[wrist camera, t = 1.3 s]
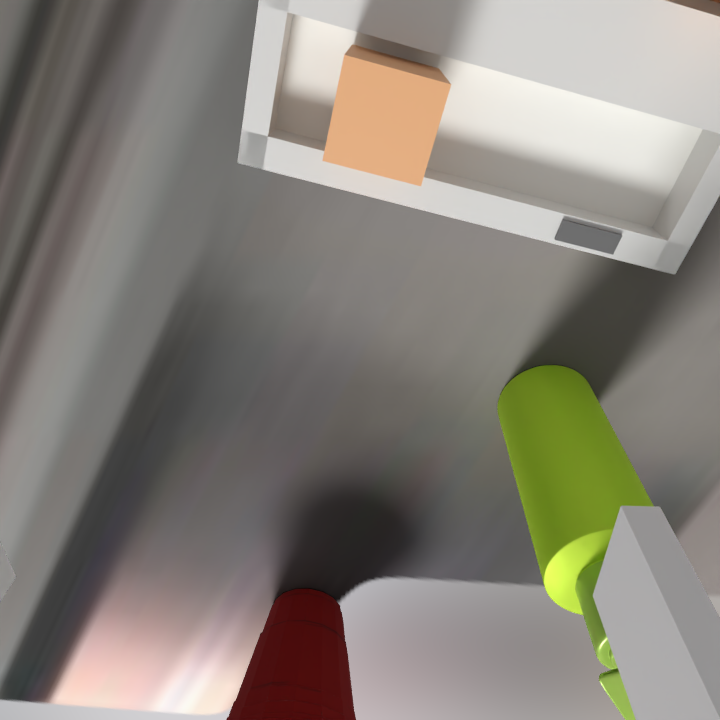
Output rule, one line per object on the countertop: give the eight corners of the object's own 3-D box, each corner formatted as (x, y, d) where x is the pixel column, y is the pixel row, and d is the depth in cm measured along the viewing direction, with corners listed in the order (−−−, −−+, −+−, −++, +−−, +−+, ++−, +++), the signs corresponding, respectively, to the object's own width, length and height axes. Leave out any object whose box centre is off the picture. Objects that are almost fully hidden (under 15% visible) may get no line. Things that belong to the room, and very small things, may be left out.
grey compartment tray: (250, 149, 30) (236, 163, 27) (317, -326, 21) (307, -374, 19) (651, 252, 32) (676, 276, 29) (862, -144, 23) (925, -162, 21)
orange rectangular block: (333, 131, 28) (322, 160, 23) (352, 44, 26) (344, 54, 21) (414, 153, 29) (421, 186, 24) (438, 68, 27) (451, 84, 22)
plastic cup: (270, 658, 53) (242, 817, 43) (222, 580, 47) (176, 739, 37) (388, 641, 51) (388, 804, 41) (351, 557, 46) (341, 720, 35)
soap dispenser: (558, 335, 35) (724, 656, 18) (608, 414, 38) (791, 757, 21) (471, 382, 37) (545, 712, 20) (524, 454, 40) (629, 797, 23)
